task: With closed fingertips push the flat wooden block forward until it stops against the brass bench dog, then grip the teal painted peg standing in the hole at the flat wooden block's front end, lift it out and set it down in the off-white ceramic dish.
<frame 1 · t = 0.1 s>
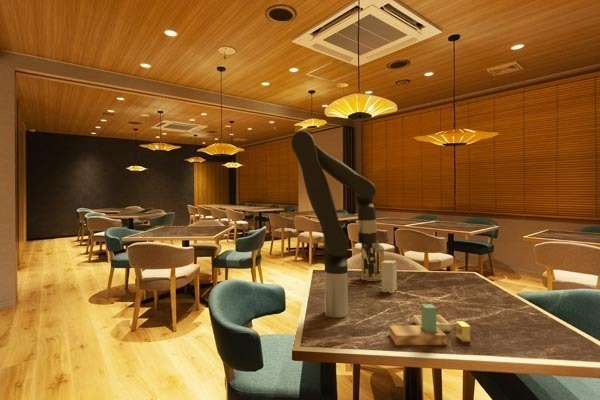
hand: (369, 271, 130), 17 cm above the table, tool pointing down, fingers open, 8 cm apart
lantern: (372, 279, 186), on the table
peg: (428, 339, 106), resting in flat wooden block
flat wooden block: (416, 339, 106), on the table
skincare box: (389, 291, 162), on the table
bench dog: (463, 338, 106), on the table
dish: (431, 326, 117), on the table
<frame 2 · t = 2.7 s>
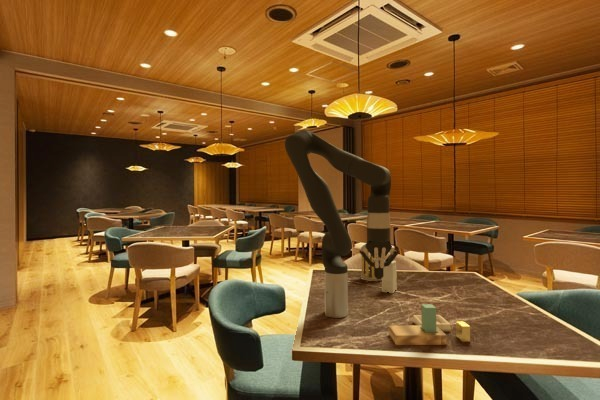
hand: (378, 278, 106), 20 cm above the table, tool pointing down, fingers closed
nothing on the table moved.
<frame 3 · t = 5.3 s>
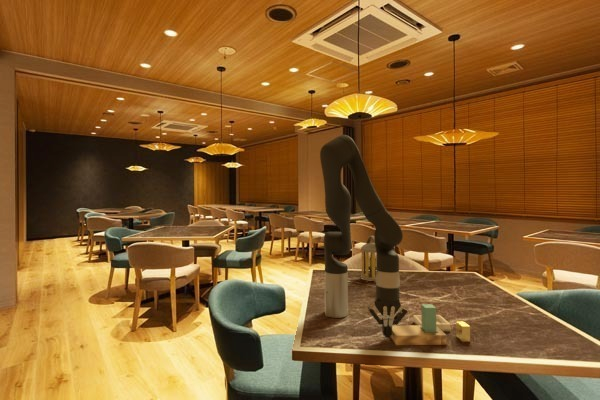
hand: (387, 336, 106), 1 cm above the table, tool pointing down, fingers closed
flat wooden block: (416, 339, 106), on the table, touching gripper
everything else where it was.
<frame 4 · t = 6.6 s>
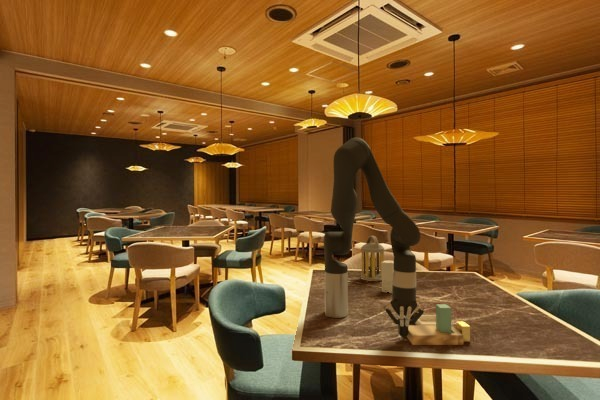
hand: (403, 336, 106), 1 cm above the table, tool pointing down, fingers closed
peg: (443, 339, 106), resting in flat wooden block
flat wooden block: (432, 339, 106), on the table, touching gripper
everything else where it was.
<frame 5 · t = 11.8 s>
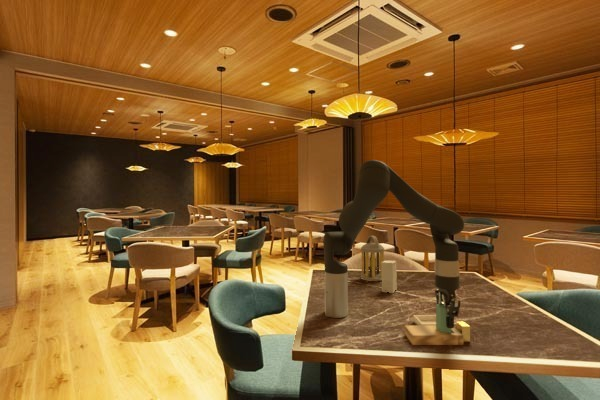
hand: (447, 325, 106), 5 cm above the table, tool pointing down, fingers closed on peg, 3 cm apart
peg: (443, 339, 106), resting in flat wooden block, touching gripper
flat wooden block: (432, 339, 106), on the table, touching peg
everything else where it was.
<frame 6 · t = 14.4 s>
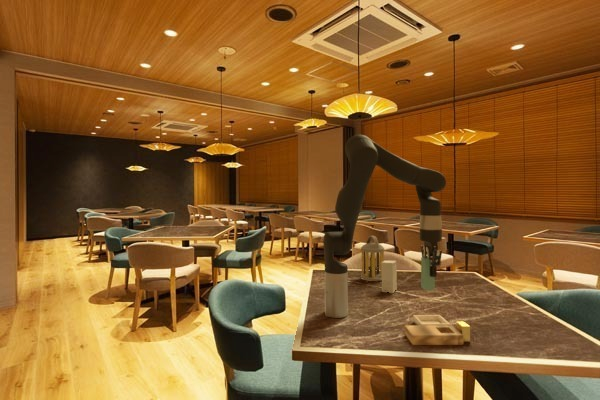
hand: (430, 275, 116), 19 cm above the table, tool pointing down, fingers closed on peg, 3 cm apart
peg: (427, 288, 116), point 14 cm above the table, touching gripper
flat wooden block: (432, 339, 106), on the table
everything else where it was.
when the fingers open (7 cm above the table, at t = 16.8 s): peg stays where it is, resting on dish.
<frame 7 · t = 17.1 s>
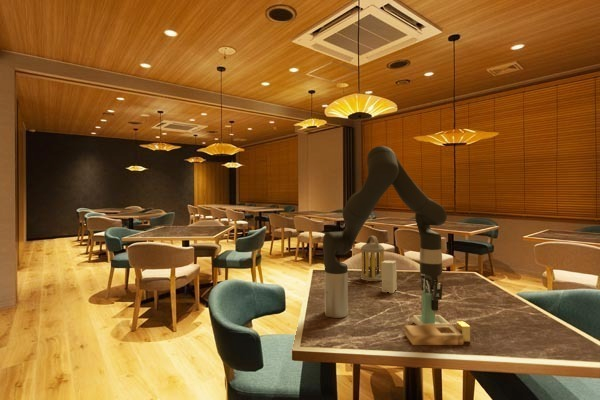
hand: (431, 307, 117), 7 cm above the table, tool pointing down, fingers open, 6 cm apart
peg: (428, 324, 117), point 1 cm above the table, touching dish
everything else where it was.
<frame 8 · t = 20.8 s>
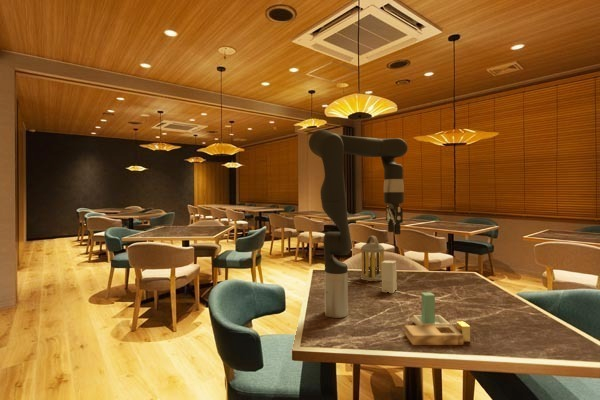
hand: (393, 233, 125), 33 cm above the table, tool pointing down, fingers open, 8 cm apart
nothing on the table moved.
at the end: flat wooden block 0.5 cm from the target spot, on the table; peg inside the target area on the dish (1.1 cm from its centre), point 0.8 cm above the dish's base; the gripper is holding nothing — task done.
